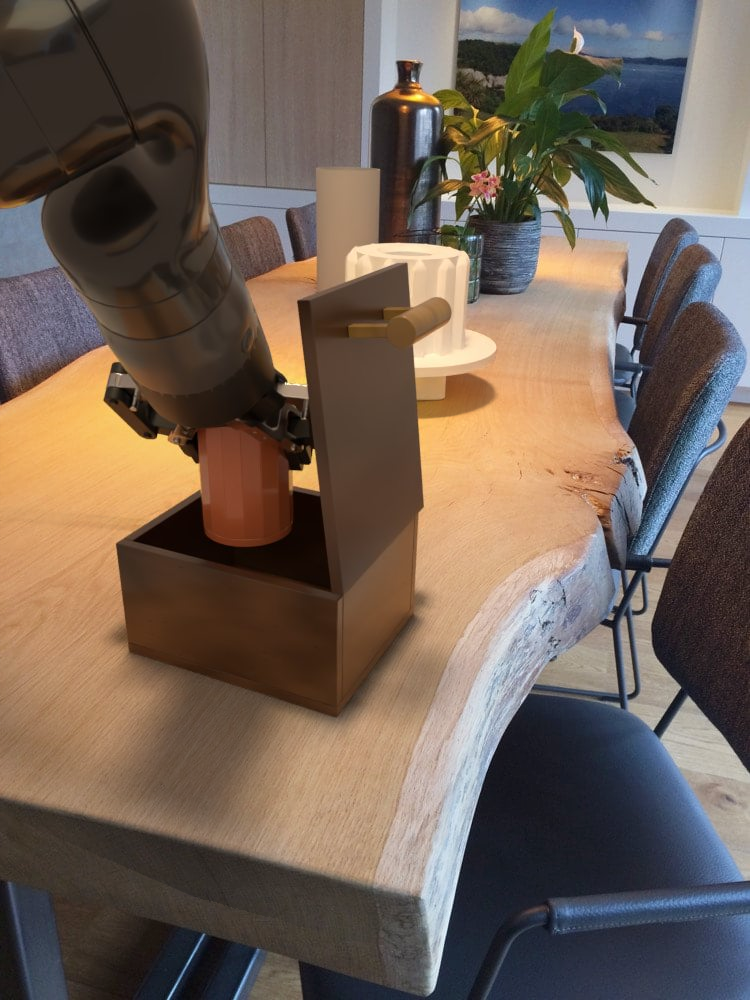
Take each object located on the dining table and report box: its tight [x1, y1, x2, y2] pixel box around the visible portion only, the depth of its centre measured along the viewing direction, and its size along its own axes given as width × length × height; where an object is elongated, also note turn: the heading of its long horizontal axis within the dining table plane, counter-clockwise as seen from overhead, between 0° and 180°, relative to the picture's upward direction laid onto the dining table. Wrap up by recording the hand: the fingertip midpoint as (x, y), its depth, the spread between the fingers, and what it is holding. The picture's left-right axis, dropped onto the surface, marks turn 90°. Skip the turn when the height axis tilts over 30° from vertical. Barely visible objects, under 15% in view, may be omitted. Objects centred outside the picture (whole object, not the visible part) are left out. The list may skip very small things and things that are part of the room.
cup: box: [196, 421, 294, 547], centre depth 57 cm, size 6×6×9 cm
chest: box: [115, 485, 420, 718], centre depth 60 cm, size 17×14×9 cm
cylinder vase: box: [315, 166, 381, 293], centre depth 167 cm, size 12×12×25 cm
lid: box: [296, 263, 452, 595], centre depth 51 cm, size 17×14×5 cm
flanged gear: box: [345, 242, 497, 401], centre depth 112 cm, size 25×25×19 cm
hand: (251, 454), depth 59 cm, fingers closed on cup, 6 cm apart
